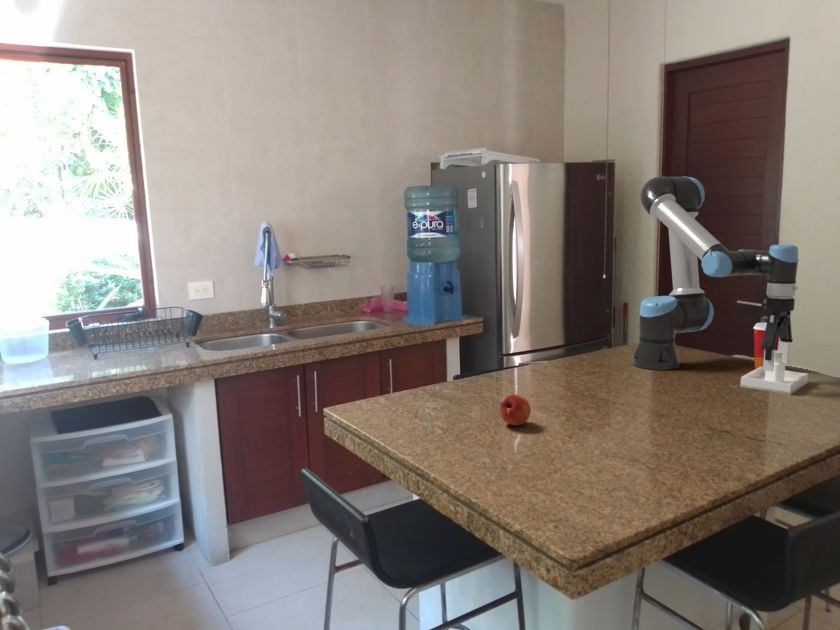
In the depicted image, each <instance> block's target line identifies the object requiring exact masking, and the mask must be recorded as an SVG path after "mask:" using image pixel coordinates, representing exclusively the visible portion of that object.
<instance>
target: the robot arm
mask: <svg viewBox="0 0 840 630" xmlns="http://www.w3.org/2000/svg"><path fill="white" fill-rule="evenodd" d="M705 194H706V193H705V189H704V186H703V184H702V183H701V182H700V181H699V180H698V179H697V178H695V177H691V176H684V175H683V176H655V177H652V178H651V179H649V180H648V181H647V182H646V183H645V184H644V185H643V186H642V188H641V192H640V203H641V205H642V207H643V209H644V210H645V212H646V213H648V215H650V216H651V217H652V218H653V219H656V220H657V219H658V220H659V221H660V222H661V223H662V224H663V225H664V226H666V227H667V229H668V239H669V252H670V264H671V277H672V278H671V279H672V288H673V289H672V291H671V292H670V293H669V294H668V295H660V296H656V295H655V296H649V297H646V298H644V299H643V300H642V301H641V303H640V310H639V329H638V331H639V332H638V333H639V334H638V344H637V346H636V349H635V352H634V354H633V357H632V365H633V366H636V367H638V368H642V369H647V370H656V371H657V370H659V371H667V370H668V371H669V370H675V369H678V368H679V367H680V357H679V353H678V351H677V347H676V334H681V333H695V332H697V331H702V330H705V329H706V328H708V326H709V325H710V324H711V323H712V321H713V319H714V313H715V312H714V306H713V303H712V302H711V301H710V299H708V298H706V293H705V291H704V290H703V289H701V287H700V278H699V277H700V276H699V264H698V263H699V262H698V259H699V260H700V261H701V268H702V271H703V273H704V274H705V275H707V276H708V277H711V278H724V277H733V276H750V275H753V276H754V275H755V276H756V275H757V276H765V277H766V276H767V283H766V284H767V285H766V296H767V297H765V298H766V299H765V309H766V310H768V311H771V315H770V314H768V315H767V320H766V323H767V325H766V329H765V334H764V339H763V343H762V346H761V349H764V361H763V370H765V371H772V372H773V371H774V358H775V350H774V346H775V343H776V340H777V337H778V333H779V343H778V350H777V351H781V352H782V361H781V362H783V363H785V365H787V364H788V363H789V362H788V360H789V351H790V350H789V349H790V343H793V337H792V333H793V332H792V321H791V314H792V312H793V311H794V310H795V305H796V304H795V303H796V302H795V301H796V299H795V298H794V297H796V291H797V290H798V287H797V286H796V285H797V272H798V265H799V248H798V246H796V245H794V244H772V245H770V247H769V250H759V249H758V250H757V249H750V248H747V249H738V250H729V249H728V248H727V247H725V246H724V245H723V244H722V243H721V242H720V241H719V240H718V239H716V238H715V236H714V235H712V234H711V233H710V232H709V231H708V230H707V229H706V228H705V227H704V226H703V225H701V223H700V222H698V221H697V220H696V219H695V218H696V217H697V216H698V215H699V209H700V208H701V207H702V205H703V202H705V198H706V197H705Z"/></svg>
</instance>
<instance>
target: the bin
mask: <svg viewBox="0 0 840 630" xmlns="http://www.w3.org/2000/svg"><path fill="white" fill-rule="evenodd" d="M765 372H766V371H765V370H763V367H759V368H757V369H756V368H754V369H753V370H751V371H749V372H748V373H746V374H744V375H742V376H741V377H740V387H741V388H747V389H752V390H758V391H764V392H769V393H776V394H782V395H788V396H791V395H792V394H793V393H795V392H797V391H798V390H800V389H801V388H802V387H804V386H805V385H807V384H808V380H809V379H808V378H809V373H808V372H799V371H792V370H786V369H785V374H784V382H783V383H780V382H773V381H767V380H765Z"/></svg>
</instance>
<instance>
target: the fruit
mask: <svg viewBox="0 0 840 630" xmlns="http://www.w3.org/2000/svg"><path fill="white" fill-rule="evenodd" d="M499 406H500V408H499V409H500V410H499V412H500V418H501V419H502V421H503V422H504V423H506V424H507V425H511V426H521V425H523V424H525V423H526V422H527V421H529V418H530V415H531V412H532V409H531V405H530V402H529V401H528V400H527V398H525V397H524V396H522V395H520V394H510V395H508V396H507V397H504V400H502V402H501V403H500V405H499Z"/></svg>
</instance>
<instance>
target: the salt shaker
mask: <svg viewBox="0 0 840 630" xmlns="http://www.w3.org/2000/svg"><path fill="white" fill-rule="evenodd" d="M781 361H782V352H781V351H778V350H777V351H775V358H774V371H773V372H772V371H766V372H765V380H767V381H773V382H780V383H783V382H784V374H785V370H786V363H783V362H781Z"/></svg>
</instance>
